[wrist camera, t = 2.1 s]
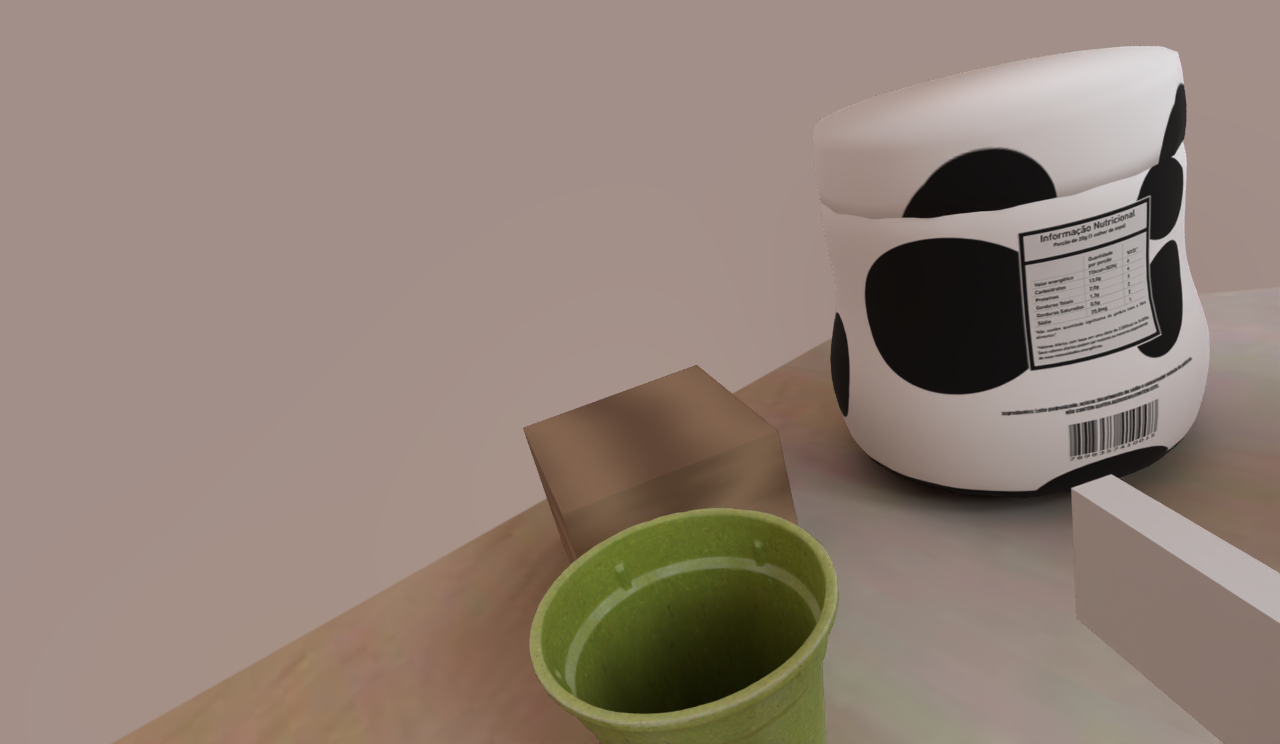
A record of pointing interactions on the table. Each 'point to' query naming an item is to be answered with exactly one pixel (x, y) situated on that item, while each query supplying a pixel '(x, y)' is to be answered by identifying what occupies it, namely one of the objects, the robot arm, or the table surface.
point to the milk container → (1015, 272)
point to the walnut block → (657, 459)
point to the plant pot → (692, 632)
